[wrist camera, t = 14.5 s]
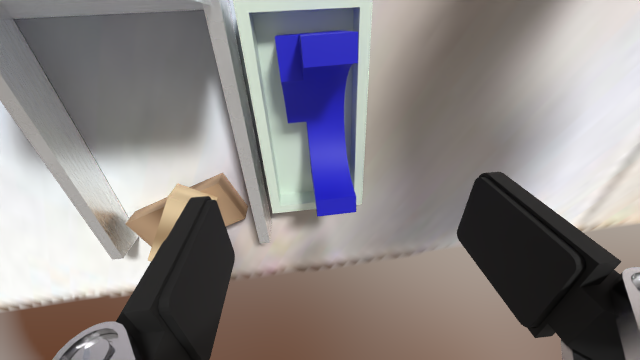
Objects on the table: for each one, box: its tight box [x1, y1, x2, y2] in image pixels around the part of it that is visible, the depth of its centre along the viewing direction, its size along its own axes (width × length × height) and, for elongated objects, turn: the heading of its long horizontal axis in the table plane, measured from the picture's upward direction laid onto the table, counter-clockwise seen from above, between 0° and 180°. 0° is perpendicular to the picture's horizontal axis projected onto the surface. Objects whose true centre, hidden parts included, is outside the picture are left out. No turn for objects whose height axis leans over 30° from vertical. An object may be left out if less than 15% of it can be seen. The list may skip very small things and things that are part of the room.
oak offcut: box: [148, 184, 218, 261], centre depth 23 cm, size 8×4×2 cm, turn 151°
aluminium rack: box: [0, 0, 272, 259], centre depth 17 cm, size 15×21×10 cm
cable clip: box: [275, 30, 358, 216], centre depth 19 cm, size 12×4×6 cm, turn 4°
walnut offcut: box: [125, 173, 248, 247], centre depth 25 cm, size 10×4×2 cm, turn 113°
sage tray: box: [233, 0, 373, 213], centre depth 21 cm, size 9×17×2 cm, turn 3°
